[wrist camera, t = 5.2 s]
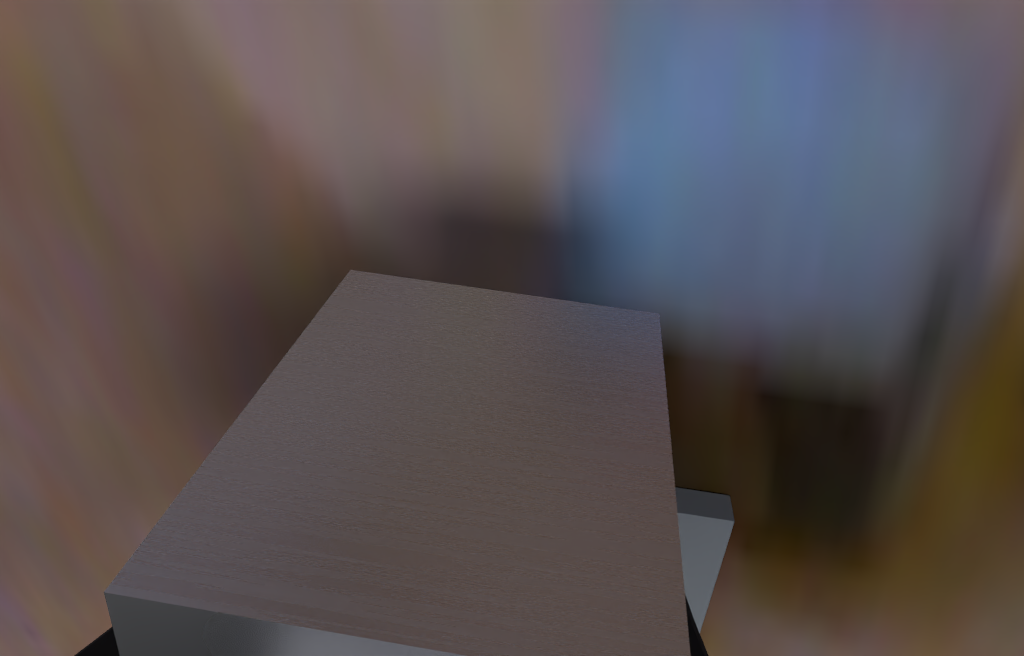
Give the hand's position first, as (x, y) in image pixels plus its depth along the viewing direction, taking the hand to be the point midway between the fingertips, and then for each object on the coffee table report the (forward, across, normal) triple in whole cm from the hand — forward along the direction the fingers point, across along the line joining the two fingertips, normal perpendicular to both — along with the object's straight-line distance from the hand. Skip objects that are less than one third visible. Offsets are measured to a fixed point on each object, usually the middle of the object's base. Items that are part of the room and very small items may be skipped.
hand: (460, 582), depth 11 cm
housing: (+2, 0, 0) cm, 2 cm away
